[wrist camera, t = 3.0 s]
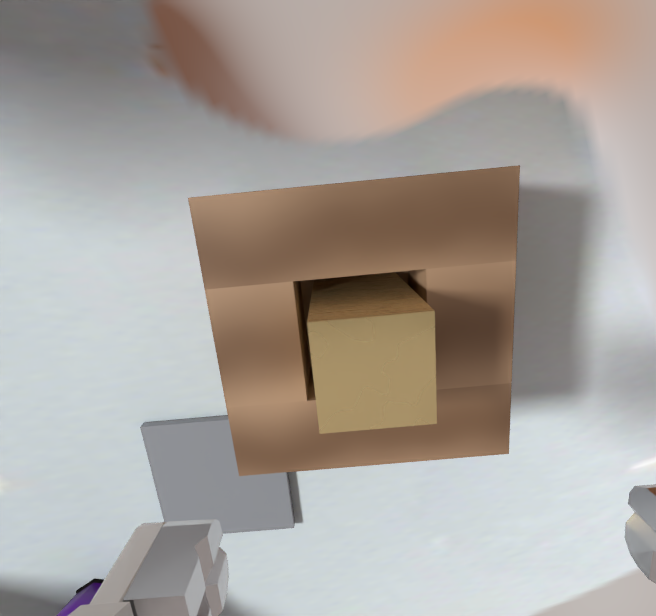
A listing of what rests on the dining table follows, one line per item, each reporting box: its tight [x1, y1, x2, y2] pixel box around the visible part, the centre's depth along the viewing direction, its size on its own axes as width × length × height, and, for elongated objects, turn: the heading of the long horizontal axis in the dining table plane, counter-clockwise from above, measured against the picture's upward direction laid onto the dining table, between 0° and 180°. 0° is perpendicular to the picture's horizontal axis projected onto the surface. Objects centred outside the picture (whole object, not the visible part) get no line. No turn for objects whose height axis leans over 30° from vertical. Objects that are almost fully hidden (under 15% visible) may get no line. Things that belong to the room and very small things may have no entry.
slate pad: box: [140, 415, 295, 534], centre depth 29 cm, size 10×10×1 cm
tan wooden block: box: [307, 272, 437, 434], centre depth 18 cm, size 4×4×8 cm
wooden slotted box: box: [188, 166, 520, 476], centre depth 22 cm, size 14×14×8 cm
